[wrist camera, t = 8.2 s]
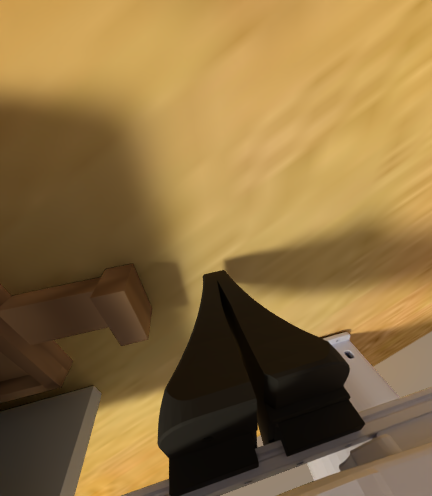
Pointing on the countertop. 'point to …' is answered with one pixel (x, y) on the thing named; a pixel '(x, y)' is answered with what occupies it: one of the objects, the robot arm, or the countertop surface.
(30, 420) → the large grey box
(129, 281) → the tray
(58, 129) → the countertop surface
